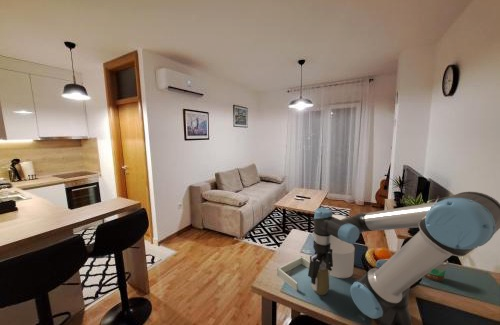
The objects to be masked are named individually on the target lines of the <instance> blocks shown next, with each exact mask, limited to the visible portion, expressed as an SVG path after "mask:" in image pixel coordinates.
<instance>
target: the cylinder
mask: <svg viewBox="0 0 500 325" xmlns="http://www.w3.org/2000/svg"><path fill="white" fill-rule="evenodd" d="M332 217H334V218H337V219H339V220H344V219H346V218H348V217H347V216H346V215H345V216H344V215H339V214H332ZM330 244H331V245H330V248H331V249H332V260H333V267H331V268H332V270H331V271H330V273H329V276H330V277H334V278H335V279H336V278H338V279H347V278H350V277H352V275H353V273H354V264H355V251H356V250H355V249H356V248H355V245H354V243H353V244H349V243H347V242H344V241H341V240H340V239H338V238H336V237H334V236H332V235H331V242H330Z"/></svg>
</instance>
